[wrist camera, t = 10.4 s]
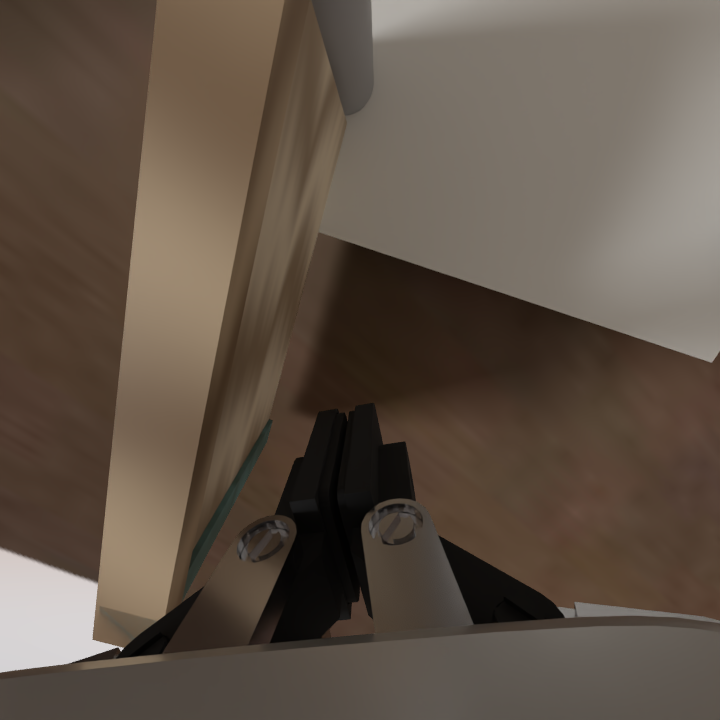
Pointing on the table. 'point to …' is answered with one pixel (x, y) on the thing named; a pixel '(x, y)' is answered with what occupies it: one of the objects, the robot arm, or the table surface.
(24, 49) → the table surface
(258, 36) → the beige wavy patterned slab
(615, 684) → the robot arm
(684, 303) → the white base with posts
